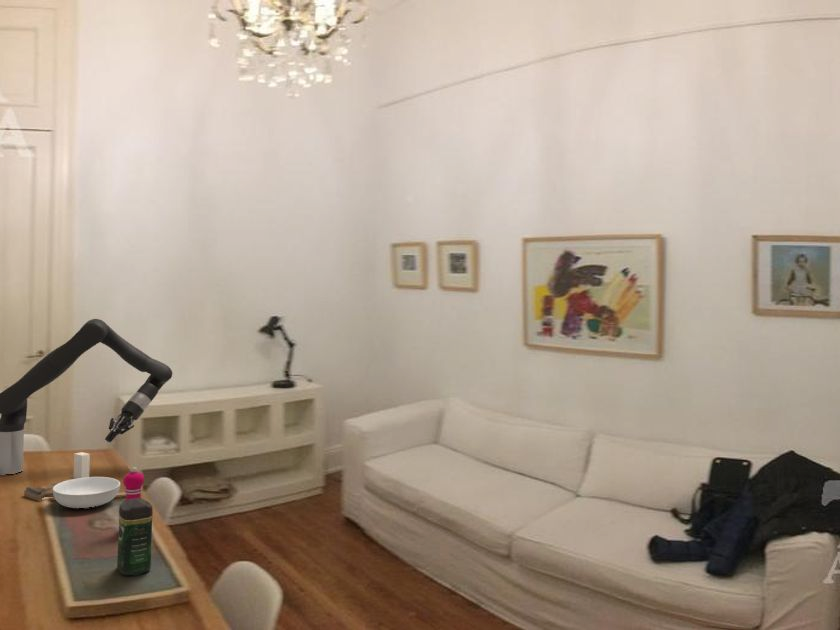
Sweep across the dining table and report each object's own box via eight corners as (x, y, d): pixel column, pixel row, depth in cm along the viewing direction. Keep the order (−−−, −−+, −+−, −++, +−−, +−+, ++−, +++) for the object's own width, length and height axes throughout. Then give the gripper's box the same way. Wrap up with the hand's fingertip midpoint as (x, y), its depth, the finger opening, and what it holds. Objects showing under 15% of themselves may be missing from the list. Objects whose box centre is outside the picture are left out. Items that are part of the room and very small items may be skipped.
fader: (82, 477, 243) (82, 451, 243) (91, 480, 240) (92, 454, 240) (70, 480, 239) (71, 453, 239) (80, 483, 236) (81, 456, 236)
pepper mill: (135, 536, 194) (137, 471, 194) (114, 533, 195) (116, 469, 195) (149, 528, 201) (151, 465, 201) (129, 525, 203) (131, 463, 202)
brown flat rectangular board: (83, 482, 246) (83, 473, 246) (99, 486, 241) (99, 478, 240) (24, 496, 227) (24, 487, 227) (39, 501, 222) (39, 492, 222)
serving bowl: (50, 517, 207) (50, 496, 206) (53, 498, 225) (54, 479, 225) (121, 510, 216) (121, 490, 216) (118, 492, 235) (119, 474, 235)
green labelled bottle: (154, 572, 170) (156, 503, 169) (122, 579, 165) (124, 508, 164) (145, 559, 177) (147, 493, 177) (114, 566, 173) (116, 498, 172)
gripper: (120, 398, 259) (91, 432, 249) (141, 402, 253) (111, 437, 242) (131, 409, 264) (103, 444, 254) (152, 413, 257) (124, 449, 247)
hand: (107, 440), depth 248 cm, fingers closed
